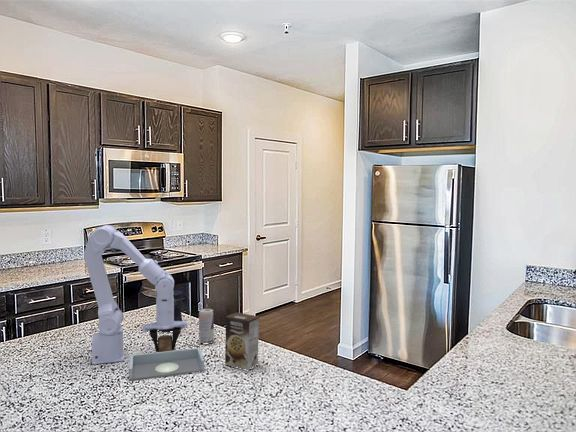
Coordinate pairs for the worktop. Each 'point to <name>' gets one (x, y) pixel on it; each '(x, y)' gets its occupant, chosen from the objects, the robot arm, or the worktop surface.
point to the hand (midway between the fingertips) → (165, 350)
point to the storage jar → (176, 308)
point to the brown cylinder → (164, 343)
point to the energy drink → (206, 326)
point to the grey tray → (165, 364)
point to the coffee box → (241, 340)
